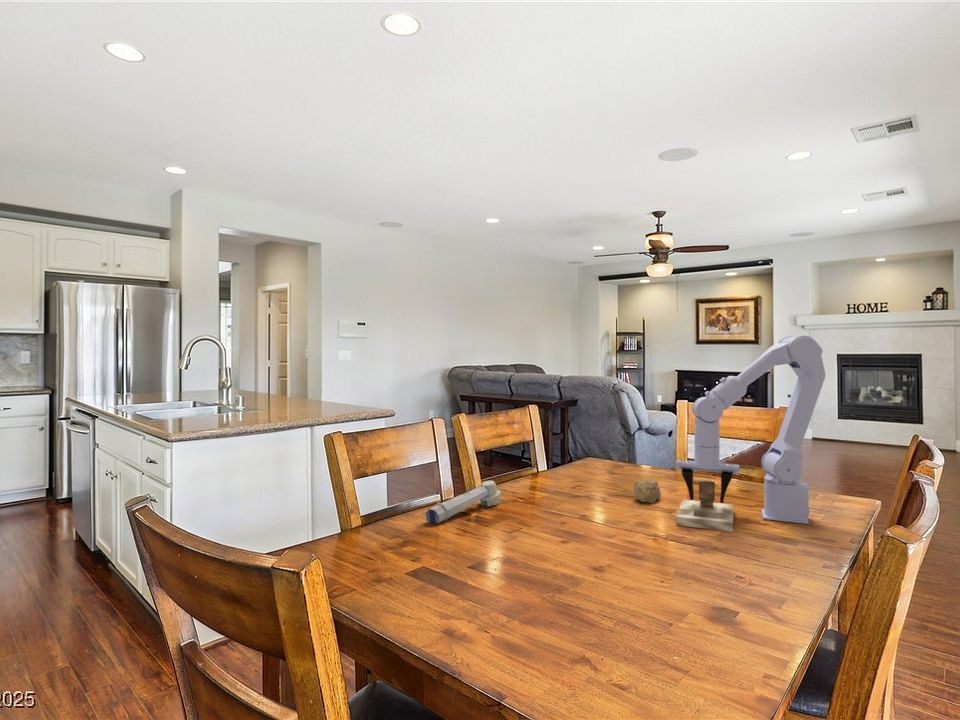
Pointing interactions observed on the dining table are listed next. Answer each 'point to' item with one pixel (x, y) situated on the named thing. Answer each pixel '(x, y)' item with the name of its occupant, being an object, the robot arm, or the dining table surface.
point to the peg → (706, 493)
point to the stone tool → (647, 490)
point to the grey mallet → (464, 502)
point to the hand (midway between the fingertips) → (706, 500)
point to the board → (705, 516)
